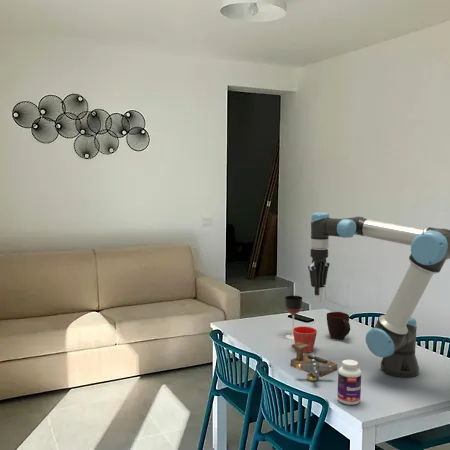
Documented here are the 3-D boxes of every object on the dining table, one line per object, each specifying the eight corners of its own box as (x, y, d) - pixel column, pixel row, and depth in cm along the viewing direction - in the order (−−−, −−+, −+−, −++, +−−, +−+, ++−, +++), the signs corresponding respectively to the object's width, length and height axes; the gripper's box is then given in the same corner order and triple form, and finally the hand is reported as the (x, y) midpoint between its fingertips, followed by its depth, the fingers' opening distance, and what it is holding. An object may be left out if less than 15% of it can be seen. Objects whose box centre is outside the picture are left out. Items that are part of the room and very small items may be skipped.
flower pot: (316, 355, 229) (316, 334, 228) (291, 353, 231) (292, 332, 230) (316, 347, 239) (317, 327, 238) (293, 345, 241) (293, 325, 240)
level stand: (337, 369, 212) (337, 348, 211) (321, 376, 204) (321, 355, 204) (306, 359, 224) (307, 339, 223) (290, 365, 216) (290, 345, 215)
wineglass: (304, 337, 253) (305, 298, 251) (291, 340, 249) (292, 300, 246) (294, 333, 260) (294, 294, 258) (281, 336, 255) (281, 297, 253)
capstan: (330, 372, 208) (330, 356, 207) (335, 387, 194) (335, 370, 193) (295, 371, 209) (295, 355, 208) (297, 385, 195) (297, 369, 194)
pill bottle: (346, 407, 177) (347, 368, 176) (332, 398, 185) (333, 360, 183) (365, 403, 181) (366, 364, 179) (351, 394, 188) (352, 357, 187)
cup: (339, 334, 259) (340, 311, 258) (356, 342, 246) (357, 318, 245) (323, 336, 255) (323, 313, 254) (339, 345, 242) (339, 320, 241)
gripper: (321, 246, 226) (319, 297, 228) (303, 249, 217) (302, 303, 219) (335, 247, 221) (334, 301, 223) (317, 250, 212) (316, 306, 214)
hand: (318, 301), depth 221 cm, fingers closed
